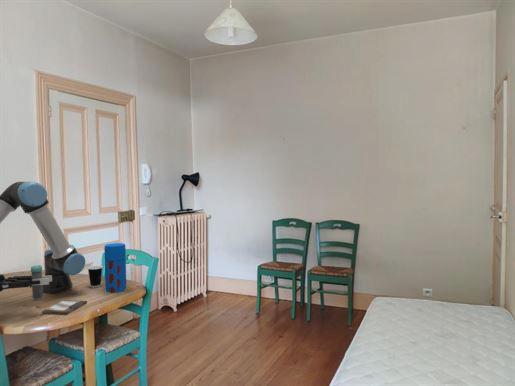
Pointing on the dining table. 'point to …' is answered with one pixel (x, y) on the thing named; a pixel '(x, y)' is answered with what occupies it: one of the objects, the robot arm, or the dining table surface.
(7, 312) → the dining table surface
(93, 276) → the dixie cup
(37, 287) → the marker
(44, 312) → the brown picture frame
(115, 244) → the thermos
